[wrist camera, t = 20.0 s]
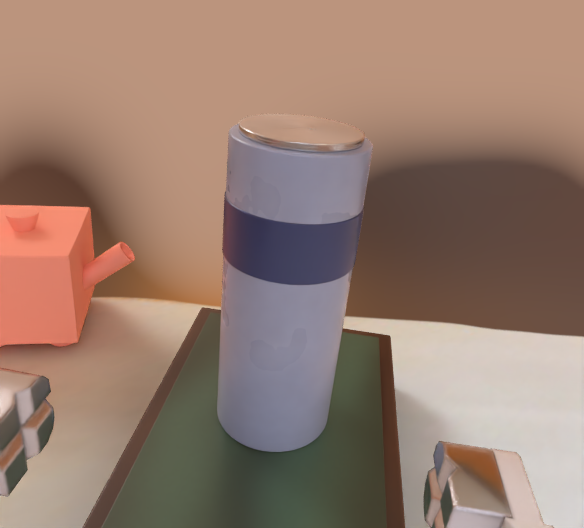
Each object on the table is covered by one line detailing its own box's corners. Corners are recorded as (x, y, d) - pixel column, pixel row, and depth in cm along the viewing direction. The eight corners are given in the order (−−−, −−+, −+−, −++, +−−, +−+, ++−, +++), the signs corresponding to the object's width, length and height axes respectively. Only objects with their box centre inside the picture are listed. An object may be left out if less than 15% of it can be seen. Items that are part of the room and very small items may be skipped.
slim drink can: (331, 382, 27) (374, 122, 21) (324, 463, 23) (377, 155, 17) (230, 366, 28) (244, 105, 22) (202, 442, 23) (210, 134, 17)
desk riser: (380, 379, 34) (391, 331, 32) (393, 677, 19) (415, 616, 17) (200, 351, 35) (201, 302, 33) (74, 615, 20) (64, 550, 18)
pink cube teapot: (132, 354, 34) (127, 238, 30) (-76, 360, 31) (-110, 235, 28) (141, 293, 41) (137, 192, 37) (-30, 294, 38) (-52, 186, 35)
